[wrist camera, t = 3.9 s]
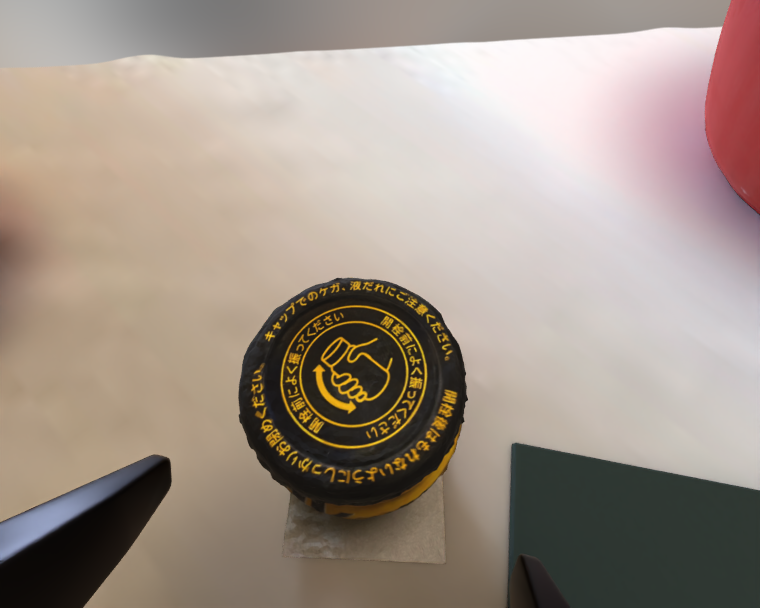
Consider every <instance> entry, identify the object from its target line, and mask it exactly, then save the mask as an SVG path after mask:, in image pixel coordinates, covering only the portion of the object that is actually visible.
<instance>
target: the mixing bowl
mask: <svg viewBox="0 0 760 608" xmlns="http://www.w3.org/2000/svg"><path fill="white" fill-rule="evenodd" d="M705 124H706V128H705V130H706V135H707V140H708V143H709V146H710V149H711V152H712V154H713V157H714V159H715V161H716V163H717V165H718V167H719V168H720V170H721V171H722V173H723V174H724V176H725V177H726V179H727V180H728V182H729V184H730V185H731V187H732V188H733V189H734V191H735V192H736V193H737V194H738V195H739V197H740V198H741V199H743V200H744V201H745V202H746V203H747V204H748V205H749V206H750V207H751V208H753V209H754V210H755V211H756V212H757V213H758V214H760V0H731V3H730V6H729V9H728V12H727V15H726V18H725V21H724V24H723V27H722V31H721V34H720V38H719V42H718V45H717V49H716V53H715V57H714V62H713V66H712V71H711V75H710V80H709V85H708V91H707V96H706V102H705Z"/></svg>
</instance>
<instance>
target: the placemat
mask: <svg viewBox="0 0 760 608" xmlns="http://www.w3.org/2000/svg"><path fill="white" fill-rule="evenodd" d="M520 554H526V555H529V556H533V557H536V558H538V559H539V560H540V561H541V562H542V564H543V565H544V567H545V568H546V570H547V572H548V573H549V575H550V576H551V578H552V579H553V581H554V582H555V584H556V585H557V587H558V588H559V590H560V591H561V593H562V595H563V596H564V598H565V599H566V601H567V602H568V604H569V605H570V607H571V608H760V491H759V490H754V489H749V488H744V487H739V486H734V485H729V484H724V483H719V482H713V481H708V480H703V479H698V478H693V477H688V476H683V475H678V474H673V473H667V472H662V471H657V470H652V469H647V468H642V467H637V466H632V465H627V464H621V463H616V462H611V461H606V460H601V459H596V458H591V457H586V456H581V455H575V454H570V453H565V452H560V451H555V450H550V449H545V448H540V447H535V446H529V445H524V444H519V443H514V444H512V461H511V500H510V538H509V576H508V608H510V592H509V584H510V577H511V574H512V572H513V569H514V566H515V564H516V561H517V558H518V556H519V555H520Z"/></svg>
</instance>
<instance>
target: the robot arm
mask: <svg viewBox="0 0 760 608" xmlns="http://www.w3.org/2000/svg"><path fill="white" fill-rule="evenodd" d="M171 482H172V479H171V462H170V459H169V458H167V457H164V456H160V455H151V456H149V457H146V458H144V459H142V460H140V461H137V462H135V463H133V464H131V465H128V466H126V467H124V468H122V469H119V470H117V471H115V472H113V473H110V474H108V475H106V476H104V477H101V478H99V479H97V480H95V481H92V482H90V483H88V484H86V485H83V486H81V487H79V488H77V489H74V490H72V491H70V492H68V493H65V494H63V495H61V496H59V497H56V498H54V499H52V500H50V501H47V502H45V503H43V504H41V505H38V506H36V507H34V508H32V509H29V510H27V511H25V512H23V513H20V514H18V515H16V516H14V517H11V518H9V519H7V520H5V521H2V522H0V608H83V607H84V606H85V604H86V603H87V602H88V601H89V599H90V598H91V597H92V596H93V594H94V593H95V592H96V591H97V589H98V588H99V587H100V586H101V584H102V583H103V582H104V581H105V579H106V578H107V577H108V576H109V574H110V573H111V572H112V571H113V569H114V568H115V567H116V566H117V564H118V563H119V562H120V561H121V559H122V558H123V557H124V555H125V554H126V553H127V551H128V550H129V549H130V547H131V546H132V544H133V543H134V542H135V540H136V539H137V537H138V536H139V534H140V533H141V531H142V530H143V528H144V527H145V525H146V524H147V522H148V521H149V519H150V518H151V516H152V515H153V513H154V512H155V510H156V509H157V507H158V506H159V504H160V503H161V501H162V500H163V499H164V497H165V496H166V494H167V492H168V491H169V489H170V486H171ZM509 592H510V608H571V607H570V605H569V604H568V602H567V601H566V599H565V598H564V596H563V595H562V593H561V591H560V590H559V588H558V587H557V585H556V584H555V582H554V581H553V579H552V578H551V576H550V575H549V573H548V572H547V570H546V568H545V567H544V565H543V564H542V562H541V561H540V560H539V559H538V558H536V557H533V556H529V555H526V554H520V555H519V556H518V558H517V561H516V564H515V566H514V569H513V572H512V574H511V577H510V584H509Z"/></svg>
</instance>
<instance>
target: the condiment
mask: <svg viewBox="0 0 760 608" xmlns="http://www.w3.org/2000/svg"><path fill="white" fill-rule="evenodd" d="M465 375H466V372H465V368H464V362H463V358H462V354H461V350H460V347H459V344H458V343H457V341H456V340H455V338H454V337H453V336H452V334H451V332H450V330H449V329H448V328H447V326H446V325H445V323H444V320H443V318H442V315H441V313H440V312H439V311H438V310H437V309H435V308H434V307H433V306H432V305H431V304H430V303H429V302H427V301H426V300H424V299H423V298H422V297H420V296H419V295H417V294H415V293H413V292H410V291H409V290H407V289H405V288H403V287H401V286H398V285H396V284H393V283H390V282H386V281H381V280H372V279H369V280H366V279H358V278H345V279H343V278H336V279H334V280H331V281H329V282H327V283H322V284H318V285H315V286H312V287H310V288H308V289H306V290H304V291H303V292H301V293H300V294H298V295H296V296H295V297H293V298H291V299H290V300H289V301H288V302H286V303H285V304H283V305H282V306H280V307H278V308H276V309H275V310H274V311H273V312H272V314H271V315H270V317H269V318H268V319H267V321H266V322H265V323H264V325H263V326H262V328H261V329H260V331H259V332H258V334H257V335H256V336H255V338H254V339H253V341H252V342H251V343H250V345H249V347H248V349H247V351H246V353H245V356H244V359H243V364H242V374H241V378H240V384H239V407H240V414H239V420H240V423H241V424H242V426H243V429H244V431H245V433H246V436H247V440H248V444H249V446H250V447H251V449H254V450H255V452H256V454H257V459H258V460H259V462H260V464H261V465H262V466H263V467H264V468H265V469H267V470H268V471H269V472H270V473H271V476H272V478H273V479H274V480H276V481H277V482H278V483H280V484H281V485H283V486H285V487H286V488H287V489H288V490H289V491H290V492H291V494H290V503H289V510H288V517H287V523H286V529H285V537H284V545H283V553H282V557H308V558H330V559H331V558H334V559H356V560H380V561H396V562H420V563H436V564H446V555H445V530H444V505H443V479H442V475H443V474H444V472H445V471H446V470H447V467H448V463H449V461H450V459H451V457H452V455H453V453H454V452H455V449H456V445H457V440H458V438H459V436H460V431H461V426H462V423H463V422H464V417H463V414H464V408H465V402H466V401H467V400H468V398H467V395H466V387H467V386H466V382H465Z"/></svg>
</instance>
